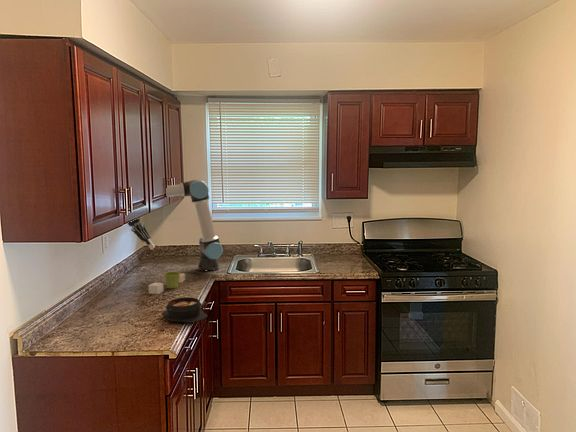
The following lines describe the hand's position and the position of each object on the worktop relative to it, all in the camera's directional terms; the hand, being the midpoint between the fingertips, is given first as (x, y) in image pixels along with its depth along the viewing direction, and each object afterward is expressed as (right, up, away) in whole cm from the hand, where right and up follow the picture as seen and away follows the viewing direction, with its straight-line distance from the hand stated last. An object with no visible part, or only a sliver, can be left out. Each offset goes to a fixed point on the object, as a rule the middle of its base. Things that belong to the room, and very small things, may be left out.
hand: (153, 248), depth 275 cm
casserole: (+33, -30, -60) cm, 75 cm away
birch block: (+14, -22, +8) cm, 27 cm away
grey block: (+6, -25, -15) cm, 30 cm away
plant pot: (+13, -24, -5) cm, 28 cm away
